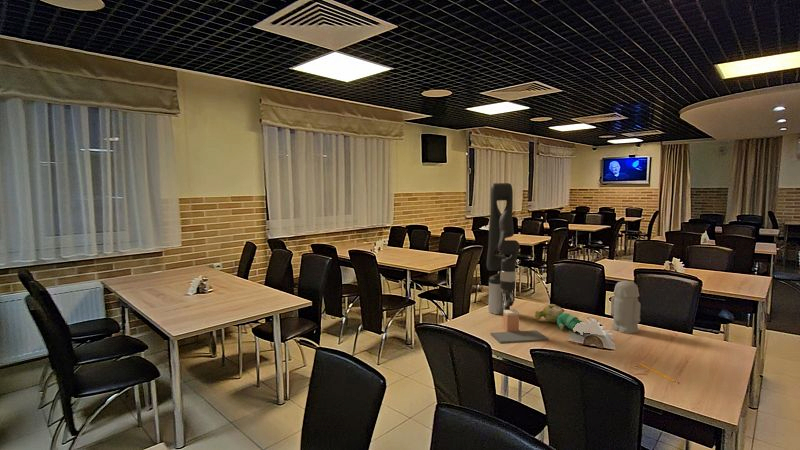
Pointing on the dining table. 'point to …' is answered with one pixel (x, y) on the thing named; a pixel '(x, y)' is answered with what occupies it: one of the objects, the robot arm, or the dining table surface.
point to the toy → (557, 316)
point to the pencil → (655, 371)
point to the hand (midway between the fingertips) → (507, 313)
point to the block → (511, 320)
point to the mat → (519, 336)
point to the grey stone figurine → (625, 307)
